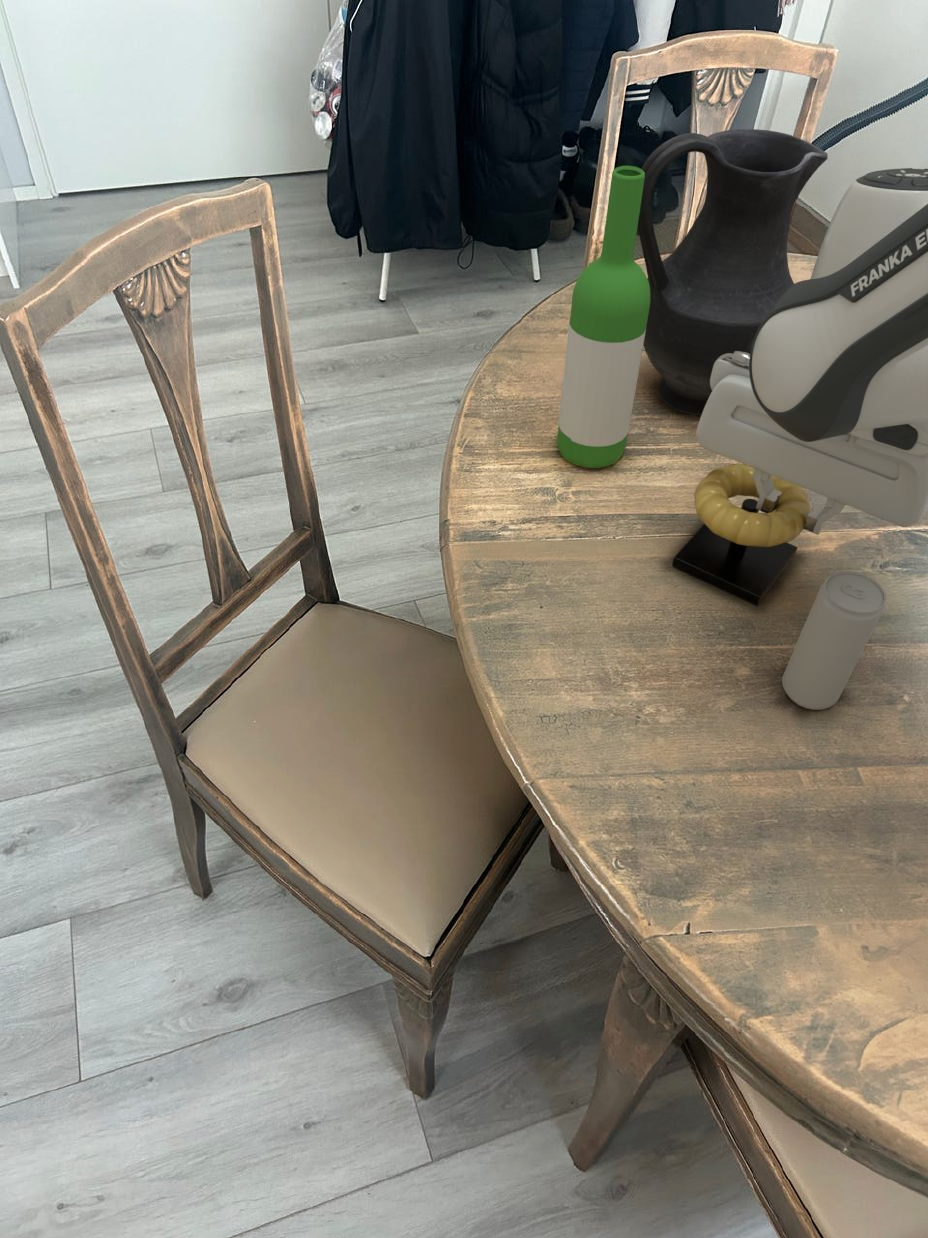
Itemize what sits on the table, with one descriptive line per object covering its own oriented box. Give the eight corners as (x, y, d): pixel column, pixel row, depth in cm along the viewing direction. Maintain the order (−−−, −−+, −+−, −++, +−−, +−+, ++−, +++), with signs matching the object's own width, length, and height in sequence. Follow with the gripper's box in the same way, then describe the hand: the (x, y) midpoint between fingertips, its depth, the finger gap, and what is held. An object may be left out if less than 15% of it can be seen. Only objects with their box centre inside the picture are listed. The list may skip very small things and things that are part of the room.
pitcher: (795, 422, 104) (885, 150, 82) (634, 449, 100) (685, 169, 78) (725, 351, 115) (788, 95, 94) (578, 373, 111) (609, 110, 90)
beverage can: (825, 722, 73) (875, 622, 64) (770, 695, 75) (812, 594, 66) (845, 687, 76) (897, 587, 67) (792, 661, 78) (836, 560, 69)
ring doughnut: (821, 510, 83) (831, 485, 81) (777, 569, 78) (786, 543, 75) (721, 470, 88) (728, 445, 86) (672, 522, 82) (678, 497, 80)
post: (794, 555, 87) (816, 498, 82) (756, 606, 82) (777, 548, 77) (712, 520, 91) (728, 463, 86) (671, 566, 86) (685, 508, 81)
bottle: (596, 425, 103) (636, 150, 82) (638, 459, 98) (691, 177, 77) (542, 444, 100) (567, 164, 79) (582, 480, 96) (621, 193, 74)
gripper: (701, 358, 73) (671, 491, 83) (955, 447, 64) (887, 584, 74) (734, 329, 76) (701, 460, 86) (979, 410, 68) (911, 545, 78)
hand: (789, 518), depth 80 cm, fingers closed on ring doughnut, 3 cm apart
